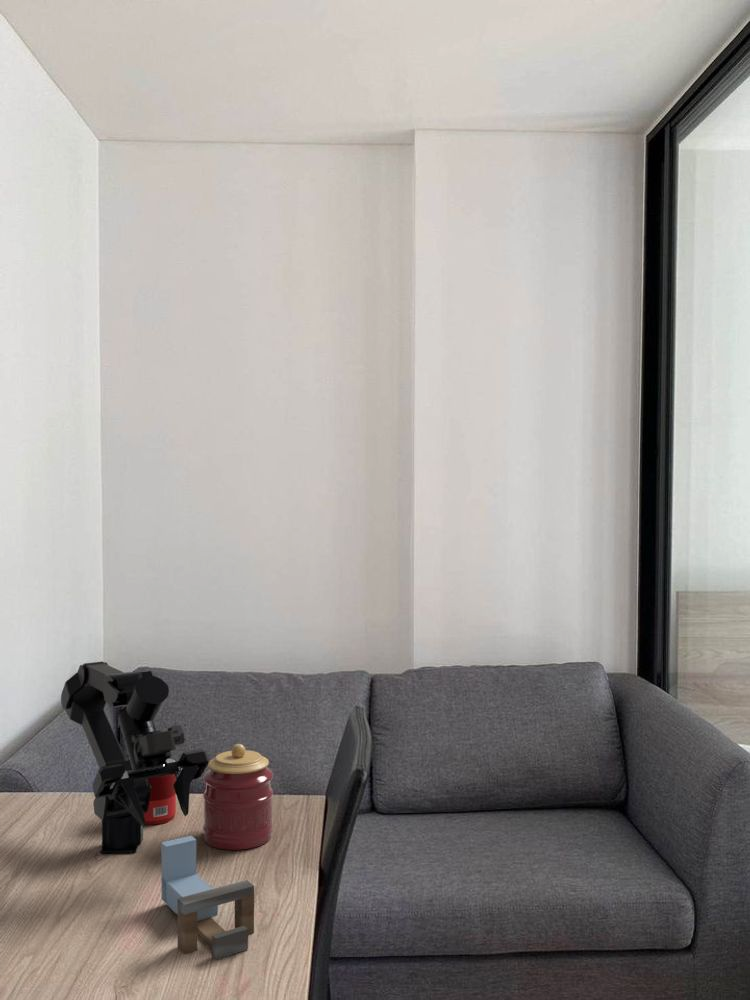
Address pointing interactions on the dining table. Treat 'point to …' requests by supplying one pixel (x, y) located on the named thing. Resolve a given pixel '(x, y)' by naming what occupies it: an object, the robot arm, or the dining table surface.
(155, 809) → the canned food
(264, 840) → the canister
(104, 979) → the dining table surface
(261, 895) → the dining table surface
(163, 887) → the light blue l-shaped block
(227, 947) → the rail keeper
